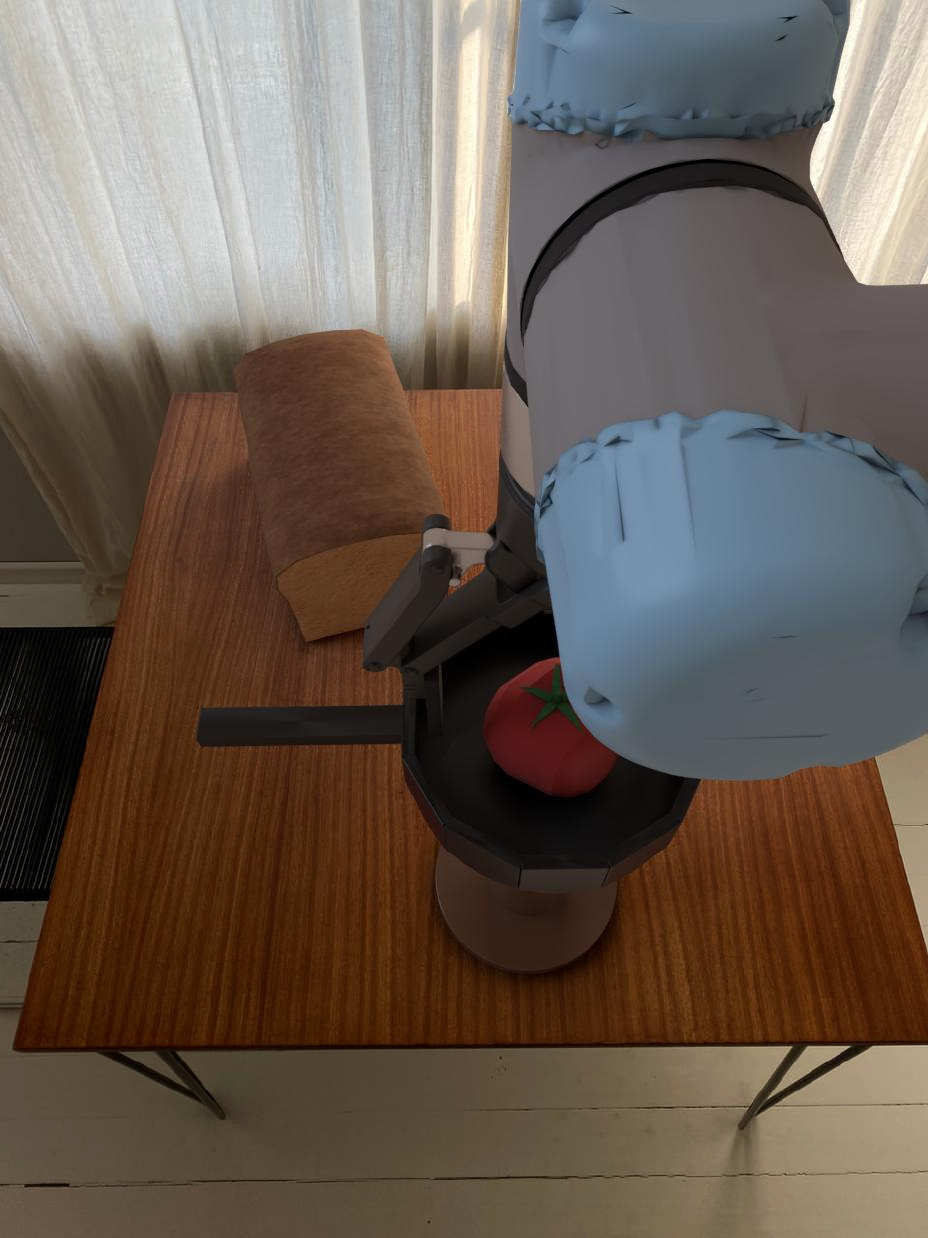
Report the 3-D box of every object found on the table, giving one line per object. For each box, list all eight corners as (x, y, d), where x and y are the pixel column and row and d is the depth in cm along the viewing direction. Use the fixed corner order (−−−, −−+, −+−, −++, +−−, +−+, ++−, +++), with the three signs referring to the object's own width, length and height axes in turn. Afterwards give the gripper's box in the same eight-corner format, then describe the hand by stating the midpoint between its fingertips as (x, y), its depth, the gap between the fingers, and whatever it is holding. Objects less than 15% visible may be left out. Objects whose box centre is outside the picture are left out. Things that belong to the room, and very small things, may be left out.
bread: (293, 650, 91) (261, 558, 78) (253, 447, 107) (221, 341, 93) (460, 610, 94) (458, 514, 80) (397, 418, 109) (386, 310, 96)
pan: (635, 983, 73) (733, 866, 46) (285, 988, 73) (172, 875, 46) (613, 785, 83) (683, 589, 55) (303, 790, 83) (219, 596, 55)
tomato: (462, 757, 53) (460, 704, 47) (540, 669, 57) (548, 608, 51) (568, 838, 51) (581, 792, 45) (644, 740, 54) (665, 684, 48)
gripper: (913, 375, 34) (760, 652, 52) (271, 385, 34) (340, 659, 52) (977, 527, 30) (787, 771, 48) (248, 538, 30) (332, 778, 48)
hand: (555, 713), depth 50 cm, fingers open, 13 cm apart
